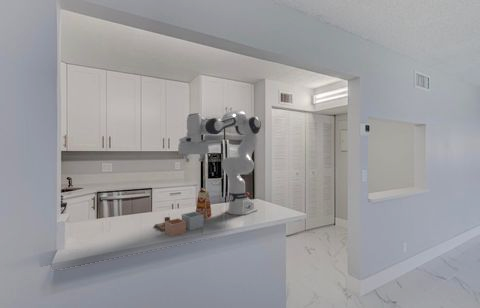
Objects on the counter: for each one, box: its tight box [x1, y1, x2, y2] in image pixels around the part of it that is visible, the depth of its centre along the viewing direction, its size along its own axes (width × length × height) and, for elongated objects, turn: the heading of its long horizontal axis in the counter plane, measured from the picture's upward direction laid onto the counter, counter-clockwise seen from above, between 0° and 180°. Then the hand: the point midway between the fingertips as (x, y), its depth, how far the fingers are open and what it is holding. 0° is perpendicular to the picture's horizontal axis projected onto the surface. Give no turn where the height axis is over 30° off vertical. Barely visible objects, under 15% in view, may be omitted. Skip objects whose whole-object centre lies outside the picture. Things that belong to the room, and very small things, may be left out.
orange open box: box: [164, 218, 187, 237], centre depth 128 cm, size 8×8×6 cm
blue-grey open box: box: [181, 211, 204, 231], centre depth 137 cm, size 9×9×7 cm
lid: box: [154, 216, 171, 230], centre depth 137 cm, size 10×10×5 cm
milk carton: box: [195, 187, 213, 221], centre depth 155 cm, size 9×9×20 cm
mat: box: [153, 225, 165, 232], centre depth 137 cm, size 11×11×1 cm
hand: (194, 161), depth 148 cm, fingers open, 8 cm apart
